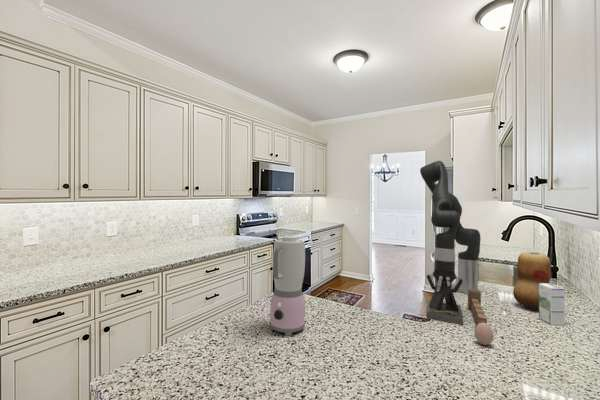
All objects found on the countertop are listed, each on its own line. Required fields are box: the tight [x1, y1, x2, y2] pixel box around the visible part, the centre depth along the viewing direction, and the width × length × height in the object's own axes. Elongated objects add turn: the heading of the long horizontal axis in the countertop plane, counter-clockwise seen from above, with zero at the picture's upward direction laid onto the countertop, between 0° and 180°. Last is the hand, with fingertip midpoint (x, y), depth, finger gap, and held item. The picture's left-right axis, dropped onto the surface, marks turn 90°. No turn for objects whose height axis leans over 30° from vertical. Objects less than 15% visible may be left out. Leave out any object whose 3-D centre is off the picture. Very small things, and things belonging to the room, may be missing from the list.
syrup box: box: [538, 282, 566, 326], centre depth 112 cm, size 6×6×14 cm
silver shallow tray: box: [426, 299, 464, 326], centre depth 117 cm, size 15×12×3 cm
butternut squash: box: [512, 251, 552, 310], centre depth 127 cm, size 14×13×25 cm
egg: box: [474, 323, 494, 346], centre depth 92 cm, size 5×5×7 cm
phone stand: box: [429, 279, 459, 311], centre depth 117 cm, size 9×6×12 cm, turn 91°
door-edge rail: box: [467, 289, 488, 326], centre depth 113 cm, size 28×4×8 cm, turn 154°
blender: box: [269, 235, 306, 337], centre depth 99 cm, size 16×12×32 cm
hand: (443, 301), depth 117 cm, fingers open, 3 cm apart
